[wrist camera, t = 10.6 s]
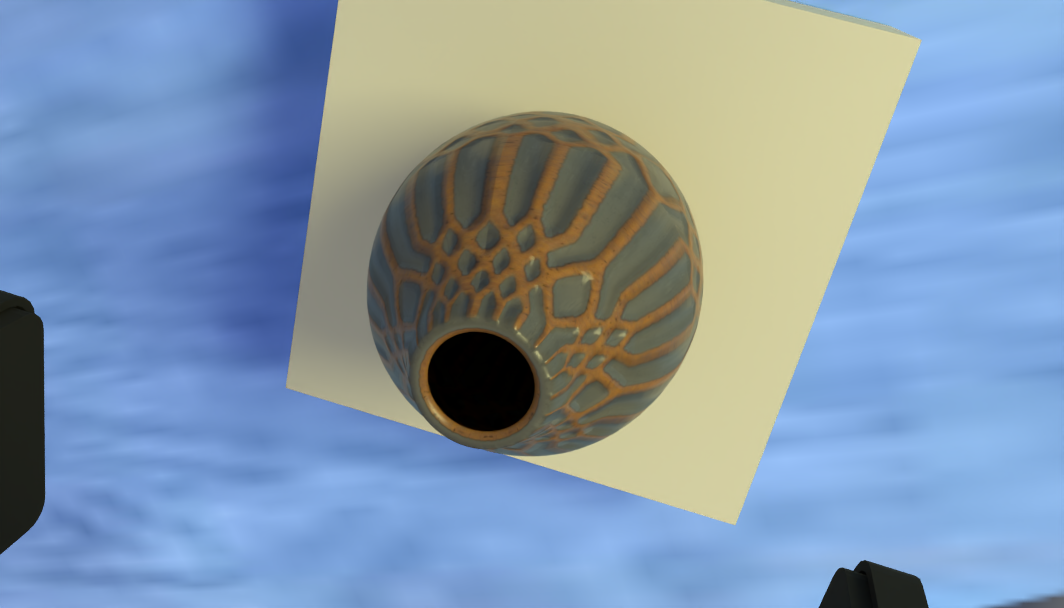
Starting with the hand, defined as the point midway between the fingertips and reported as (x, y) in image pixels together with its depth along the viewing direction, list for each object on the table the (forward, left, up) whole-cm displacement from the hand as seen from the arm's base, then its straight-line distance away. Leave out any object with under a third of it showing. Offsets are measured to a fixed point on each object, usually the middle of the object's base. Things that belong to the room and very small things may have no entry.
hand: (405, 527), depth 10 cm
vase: (0, 0, -14) cm, 14 cm away
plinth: (+1, 0, -17) cm, 17 cm away
